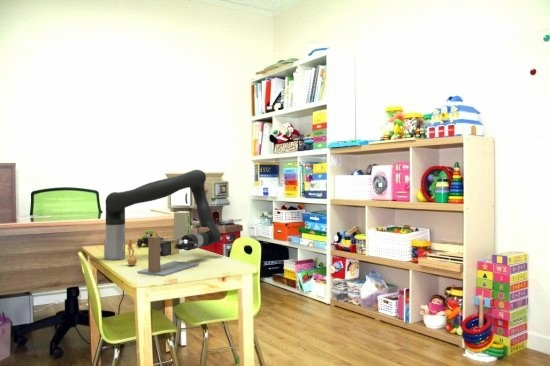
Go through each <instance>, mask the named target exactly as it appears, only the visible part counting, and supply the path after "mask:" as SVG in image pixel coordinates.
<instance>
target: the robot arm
mask: <svg viewBox="0 0 550 366" xmlns="http://www.w3.org/2000/svg"><path fill="white" fill-rule="evenodd" d="M206 179H207V175H206V173H205V172H204V171H203V170H200V169H193V170H191V171H187V172H185V173H183V174H180V175H177V176H173V177H168V178H163V179H159V180H155V181H151V182H148V183H145V184H142V185H141V186H138V187H136V188H133V189H129V190H125V191H119V192H118V191H117V192H116V191H115V192H110V193H109V194H108V195H107V196H106V198H105V238H104V240H103V250H104V251H103V255H104V257H103V258H104V259H106V260H109V261H113V260H114V261H115V260H123V259H126V245H124V244H125V243H126V208H129V207H131V206H133V205H137V204H142V203H147V202H152V201H156V200H159V199H163V198H167V197H169V196H171V195H173V194H175V193H177V192H178V191H181V190H183V189H187V188H189V189H190V191H191V194H192V195H193V198H194V203H195V206H196V211H197V215H198V220H199V223H200V226H201V227H202V228H208V230H207V231H204V232H196V233H190V234H188V235H184V236H183V237H182V238H181V239H179V241H182V240H184V242H182V244H179V250H180V249H184V250H183V251H187V252H188V251H192V250H193V251H194V250H196V249H200V248H202V247H206V246H207V247H208V246H211V245H213V244H216V243H219V242H220V241H221V238H222V234H221V231H220V230H219V228H218V226H217V224H216V222H215V221H214V217H213V212H212V209H211V207H210V204H209V201H208V199H207V196H206V190H205V188H206V187H205V183H206ZM187 240H188V241H187ZM123 245H124V248H123ZM122 249H124V250H123V251H122Z"/></svg>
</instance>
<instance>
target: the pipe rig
mask: <svg viewBox="0 0 550 366" xmlns="http://www.w3.org/2000/svg"><path fill="white" fill-rule="evenodd" d="M158 236H159V235H158ZM158 236H157V235H155V236H151V237H148V243H147V244H148V245H147V246H148V247H147V248H148V249H147V252H148V253H147V254H148V255H147V256H148V257H147V261H148V262H147V263H148V264H147V266H148V267H147V268H145V269H141V270H138V271H137V274H141V275H150V276H158V277H166V276H169V275H173V274H176V273H179V272H181V271H184V270H188V269H191V268H194V266H195V267H197V266H199V265H200V263H199V262H198V263H197V262H190V261H189V262H188V261H178V260H173V261H169V262H166V263H163V264H161V256H160V252H162V245H160V238H161V236H159V237H158ZM187 241H188V240H187ZM182 242H184V240H182V241H179V244H182Z"/></svg>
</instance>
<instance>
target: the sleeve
mask: <svg viewBox="0 0 550 366" xmlns="http://www.w3.org/2000/svg"><path fill="white" fill-rule="evenodd" d="M160 241H164V242H170V255H169V256H175V255H178V254H180V249H179V239H174V238H164V239H163V240H160Z"/></svg>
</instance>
